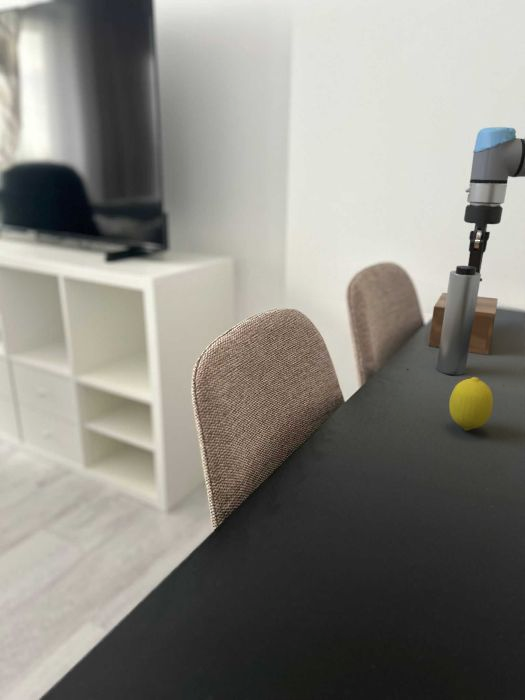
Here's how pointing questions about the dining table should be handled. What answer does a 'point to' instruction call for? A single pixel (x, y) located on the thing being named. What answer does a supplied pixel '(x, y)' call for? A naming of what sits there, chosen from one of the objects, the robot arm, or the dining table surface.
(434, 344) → the cabinet
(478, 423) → the lemon
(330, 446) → the dining table surface
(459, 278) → the silver capped cylinder
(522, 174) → the robot arm
